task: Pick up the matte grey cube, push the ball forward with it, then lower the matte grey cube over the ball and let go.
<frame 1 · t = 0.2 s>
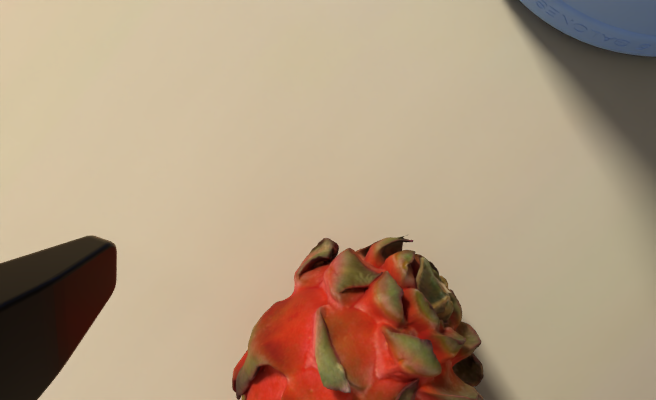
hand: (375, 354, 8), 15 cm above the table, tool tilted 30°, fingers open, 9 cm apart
dragon fruit: (359, 365, 23), on the table
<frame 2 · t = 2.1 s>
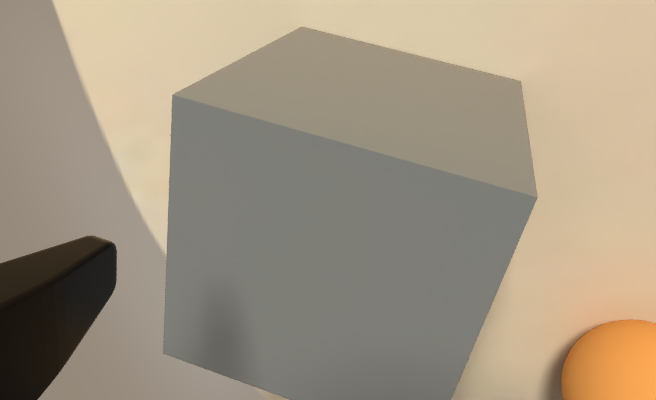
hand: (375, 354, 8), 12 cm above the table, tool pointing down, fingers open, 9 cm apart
ball: (638, 392, 19), on the table
matte grey cube: (382, 154, 20), on the table
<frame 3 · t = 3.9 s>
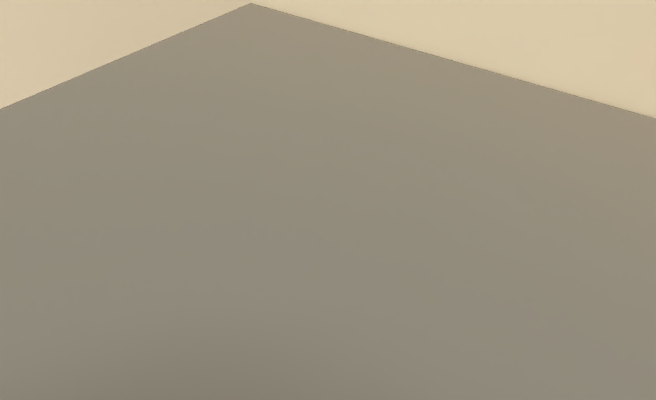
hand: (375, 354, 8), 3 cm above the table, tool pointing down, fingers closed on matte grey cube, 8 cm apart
matte grey cube: (401, 247, 11), on the table, touching gripper
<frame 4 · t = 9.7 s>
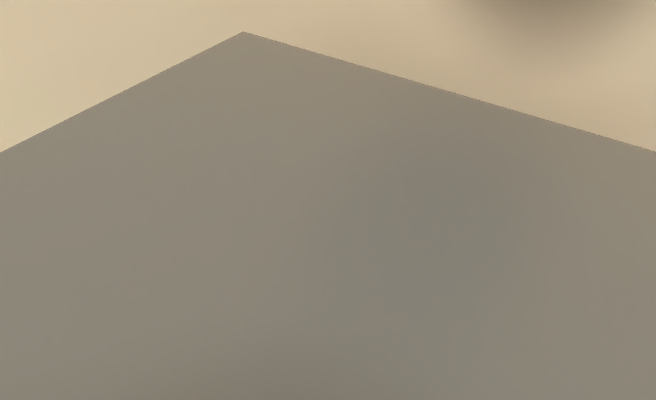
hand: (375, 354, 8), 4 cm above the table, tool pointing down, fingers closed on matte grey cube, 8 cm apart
matte grey cube: (394, 270, 11), point 2 cm above the table, touching gripper
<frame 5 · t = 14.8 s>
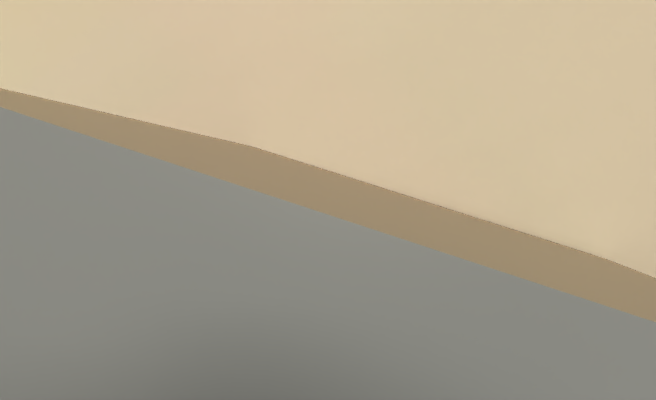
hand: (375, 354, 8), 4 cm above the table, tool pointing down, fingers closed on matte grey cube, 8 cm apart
matte grey cube: (364, 370, 12), point 2 cm above the table, tilted 27°, touching ball, gripper
when the fingers open (4 cm above the table, at t = 15.5 s): matte grey cube stays where it is, point 2 cm above the table.
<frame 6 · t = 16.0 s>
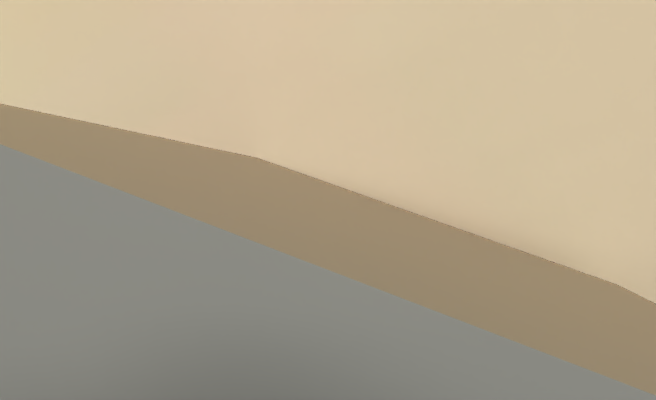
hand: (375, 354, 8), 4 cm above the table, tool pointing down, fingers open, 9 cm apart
matte grey cube: (363, 389, 11), point 2 cm above the table, tilted 27°, touching gripper
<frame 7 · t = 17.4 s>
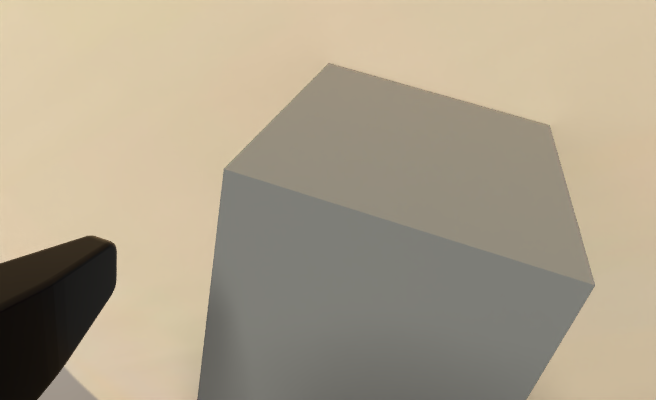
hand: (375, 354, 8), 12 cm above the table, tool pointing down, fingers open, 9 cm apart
matte grey cube: (405, 189, 20), on the table
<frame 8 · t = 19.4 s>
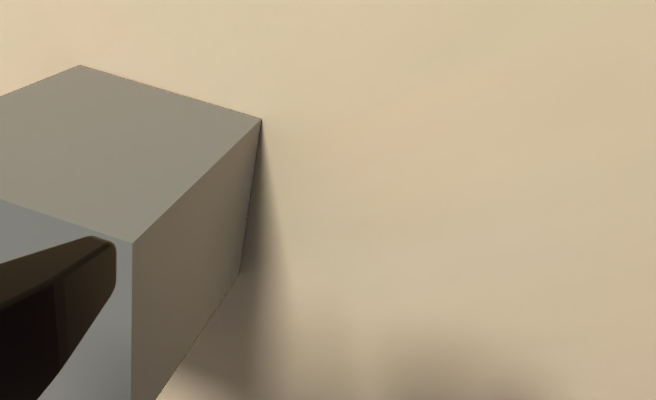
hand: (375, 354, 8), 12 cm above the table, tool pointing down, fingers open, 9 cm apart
matte grey cube: (164, 176, 23), on the table
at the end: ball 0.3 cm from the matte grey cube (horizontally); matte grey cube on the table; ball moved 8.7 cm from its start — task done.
